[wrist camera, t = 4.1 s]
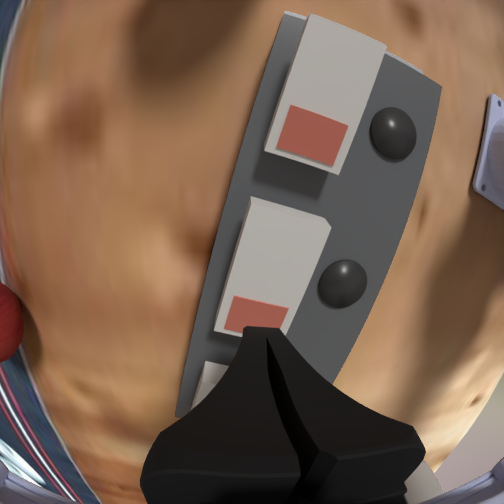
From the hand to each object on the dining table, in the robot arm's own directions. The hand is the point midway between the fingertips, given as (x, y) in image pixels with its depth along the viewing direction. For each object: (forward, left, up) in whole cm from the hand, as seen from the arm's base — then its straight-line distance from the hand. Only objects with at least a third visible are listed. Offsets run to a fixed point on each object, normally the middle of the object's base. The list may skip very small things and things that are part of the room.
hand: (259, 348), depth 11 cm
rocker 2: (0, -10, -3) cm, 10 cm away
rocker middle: (0, -2, -3) cm, 3 cm away
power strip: (-2, -2, -7) cm, 8 cm away
